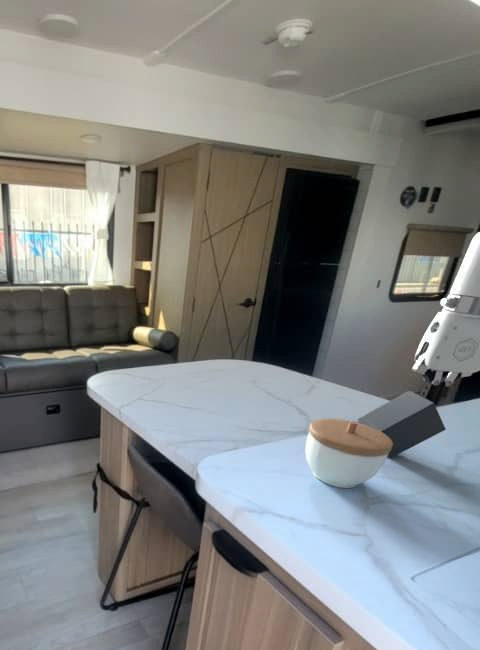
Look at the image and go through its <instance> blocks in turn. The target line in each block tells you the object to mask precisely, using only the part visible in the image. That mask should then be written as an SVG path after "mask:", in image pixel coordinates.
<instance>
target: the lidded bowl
mask: <svg viewBox="0 0 480 650" xmlns="http://www.w3.org/2000/svg"><path fill="white" fill-rule="evenodd" d="M392 446H393V442H392V440H391V439H390V438H389V437H388V436H387V435H385V434H384V433H382V432H381V431H379V430H377V429H374V428H372V427H369V426H367V425H364V424H361V423H358V421H353V420H352V421H351V420H348V419H342V418H332V417H331V418H330V417H329V418H327V417H326V418H318V419H315V420H313V421H312V422H311V423H310V425H309V427H308V433H307V438H306V442H305V449H304V450H305V451H304V452H305V458H306V462H307V464H308V466H309V468H310V469H311V471H312V474H313V476H314V477H315V478H316V479H317V480H318V481H320V482H322V483H325V484H326V485H329V486H333V487H336V488H341V489H352V488H355V487H356V486H357V485H362V484H364V483H366V482H368V481H369V480H371V479H373V478H374V477H375V476H376V475H377V474H378V472H380V471H381V469H382V468H383V466H384V464H385V462H386V460H387V459H388V457H387V456H388V453H389V452H390V451H391V449H392Z"/></svg>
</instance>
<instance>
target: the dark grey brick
mask: <svg viewBox="0 0 480 650" xmlns="http://www.w3.org/2000/svg"><path fill="white" fill-rule="evenodd" d="M356 422H357V423H361V424H364V425H367V426H369V427H372V428H374V429H377V430H379V431H381V432H382V433H384V434H385V435H387V436H388V437H389V438H390V439H391V440H392V442H393V446H392V449H391V451H390V452H389V453H388V456H387V459H389V460H390V459H392V458H394V457H396V456H398V455H400V454H402V453H404V452H406V451H408V450H409V449H411V448H414V447H415V446H417V445H419V444H421V443H423V442H425V441H427V440H428V439H431V438H432V437H433V438H434V436H437V435H439V434H440V433H442V432H444V431H446V427H445V425H444V422H443V420H442V417H441V415H440V413H439V411H438V409H437V406H436V405H435V404H434V403H433V402H431V401H429V400H427V399H425V398H423V397H421V396H420V394H418V393H415V392H413V391H412V390H406V391H405V392H404V393H402V394H399V396H396V397H395V398H393V399H391V400H390V401H388V402H386V403H383V404H382V405H380V406H378V407H377V408H375V409H374V410H371V411H370V412H368V413H366V414H365V415H363V416H361V417H359V418H357V419H356Z"/></svg>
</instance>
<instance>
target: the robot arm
mask: <svg viewBox="0 0 480 650" xmlns="http://www.w3.org/2000/svg"><path fill="white" fill-rule="evenodd" d="M440 306H442V309H441V311H438V312H437V313H436V315H435V316H434V318H433V319H432V321H431V322H430V324H429V326H428V327H427V329H426V331H425V332H424V334H423V336H422V337H421V340H420V343H419V345H418V347H417V349H416V352H415V354H414V357H413V358H414V362H415V363H414V364H413V366H412V367H411V370H412V371H413V372H415V373H417V374H420V375H421V376H422V377H423V379H422V380H423V381H424V382H425V383H424V385H423V387H422V389H421V392H420V393H419V396H421V397H423V398H425V399H427V400H429V401H431V402H433V403H434V404H435V406H436V407H437V406H438V405H439V404H440V401H441V399H442V397H443V395H444V393H445V391H446V389H447V387H450V386H452V385H453V383H454V382H455V381H457V380H458V379H460V378H466V377H471V376H472V375H473V374H474V373H477V372H479V371H480V231H479V232H476V234H475V235H474V236H473V237H472V239H471V241H470V244H469V246H468V248H467V250H466V253H465V255H464V258H463V260H462V263H461V265H460V267H459V269H458V271H457V274H456V276H455V278H454V280H453V283H452V285H451V288H450V290H449V293H448V295H447V297H446V298H445V297H444V298H442V299H440Z"/></svg>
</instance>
